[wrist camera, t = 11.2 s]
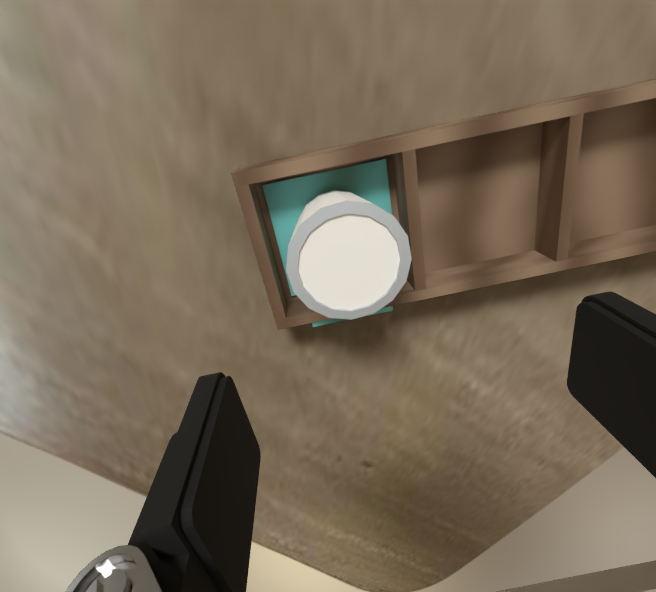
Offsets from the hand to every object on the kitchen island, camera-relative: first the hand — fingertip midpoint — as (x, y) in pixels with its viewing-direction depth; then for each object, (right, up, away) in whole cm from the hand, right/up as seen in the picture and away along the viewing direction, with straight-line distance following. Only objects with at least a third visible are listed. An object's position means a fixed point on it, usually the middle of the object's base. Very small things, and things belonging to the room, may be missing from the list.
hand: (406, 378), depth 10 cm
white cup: (-2, +7, +16) cm, 18 cm away
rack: (+8, +9, +17) cm, 21 cm away
